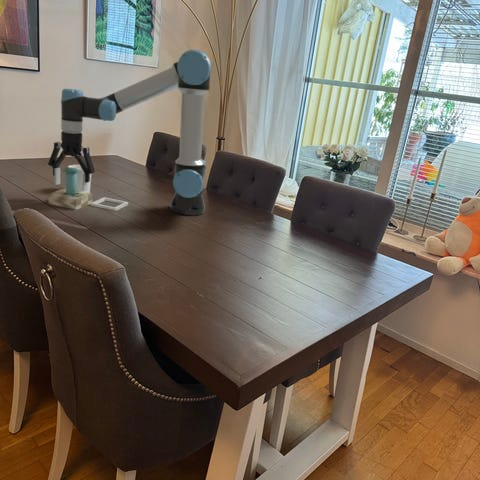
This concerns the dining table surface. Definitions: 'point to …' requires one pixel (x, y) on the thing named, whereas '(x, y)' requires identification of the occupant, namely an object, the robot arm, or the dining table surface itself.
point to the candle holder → (80, 178)
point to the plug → (71, 181)
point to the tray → (96, 204)
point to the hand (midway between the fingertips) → (71, 187)
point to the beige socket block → (70, 199)
